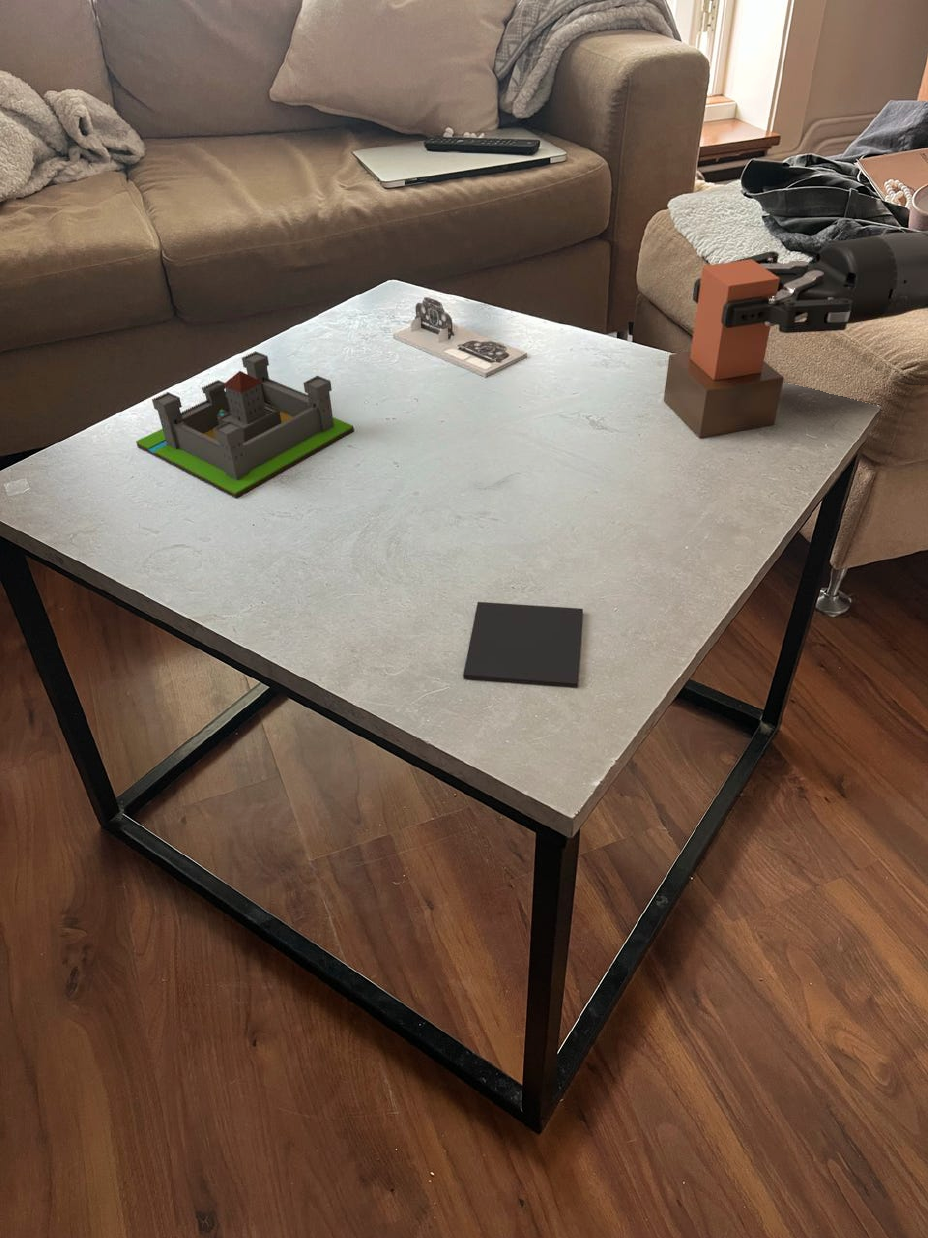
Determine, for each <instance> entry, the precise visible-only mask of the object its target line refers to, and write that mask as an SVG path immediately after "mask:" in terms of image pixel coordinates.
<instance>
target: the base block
mask: <svg viewBox="0 0 928 1238" xmlns="http://www.w3.org/2000/svg"><path fill="white" fill-rule="evenodd" d="M690 354H691V350H690V351H684V352H678V353H671V354H669V355H668V361H667V363H668V364H667V370H666V379H665V387H664V395H663V401H664V403H666V405H667V406H668V407H669V408H670V409H671V410H672V411H673V412H674V413H675V414H676V415H677V416H678V417H679V418H680V419H681V420H682V421H683V423H684V424H685V425H687V427H688V428H690V430H691V431H692V432H693V433H694V434H695V435H696V436H697V437H698V438H699V439H702V438H707V437H712V436H713V437H714V436H717V435H723V434H727V433H728V434H729V433H734V432H740V431H745V430H751V429H757V428H762V427H767V426H774V425H775V422H776V417H777V413H778V408H779V404H780V403H779V402H780V399H781V394H782V390H783V385H784V380H785V377H784V376H783V375H782V374H781V373H779V372H778V370H775V368H773V367H772V366H771V365H769V363H767V362H766V361H765V360H764V362H763V368H762V372H761V373H756V374H750V375H744V376H738V377H732V378H726V379H720V380H713V379H712V378H711V377H709V376H708V375H707V374H706V373H705V372H704V371H703V370H702V369H701V368H700V367H699V366H698V365H696V364H695V363H694V362H693V361H692V360H691V359H690Z"/></svg>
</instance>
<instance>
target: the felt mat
mask: <svg viewBox="0 0 928 1238" xmlns="http://www.w3.org/2000/svg"><path fill="white" fill-rule="evenodd" d="M583 611H584V609H583V608H579V607H578V608H577V607H563V606H549V605H531V604H517V603H502V602H501V603H500V602H487V601H477V603H476V609H475V614H474V618H473V623H472V624H473V625H472V628H471V634H470V638H469V644H468V648H467V653H466V657H465V663H464V668H463V673H462V678H463V679H465V680H479V681H480V680H481V681H492V682H505V683H518V684H531V685H542V686H543V685H545V686H555V687H556V686H557V687H570V688H578V686H579V673H580V659H581V658H580V657H581V644H582V639H581V638H582V627H583V614H584V613H583Z"/></svg>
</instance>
